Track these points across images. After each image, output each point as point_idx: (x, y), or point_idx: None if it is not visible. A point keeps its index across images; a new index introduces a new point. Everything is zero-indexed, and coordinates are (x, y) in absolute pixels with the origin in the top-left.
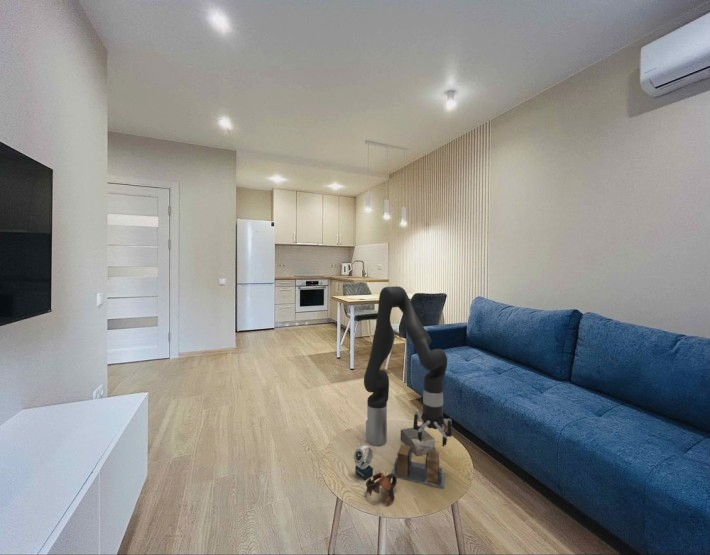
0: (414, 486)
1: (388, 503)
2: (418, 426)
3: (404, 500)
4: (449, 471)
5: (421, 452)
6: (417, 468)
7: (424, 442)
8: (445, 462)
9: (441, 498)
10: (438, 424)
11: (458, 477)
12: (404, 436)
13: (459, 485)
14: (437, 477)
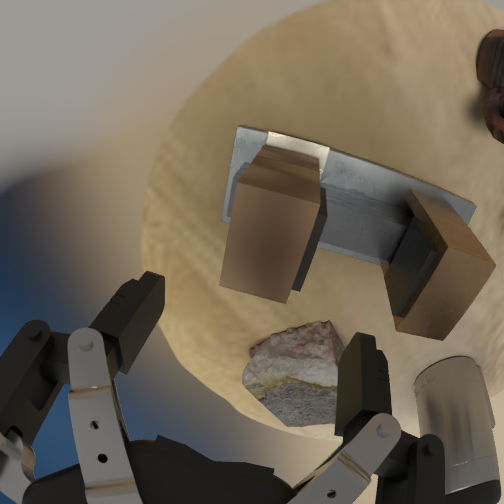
0: (383, 133)
1: (499, 30)
2: (378, 468)
3: (436, 47)
4: (203, 241)
5: (308, 334)
6: (365, 211)
7: (289, 371)
8: (216, 290)
9: (258, 63)
10: (88, 492)
11: (169, 209)
12: None
13: (168, 161)
14: (260, 151)
